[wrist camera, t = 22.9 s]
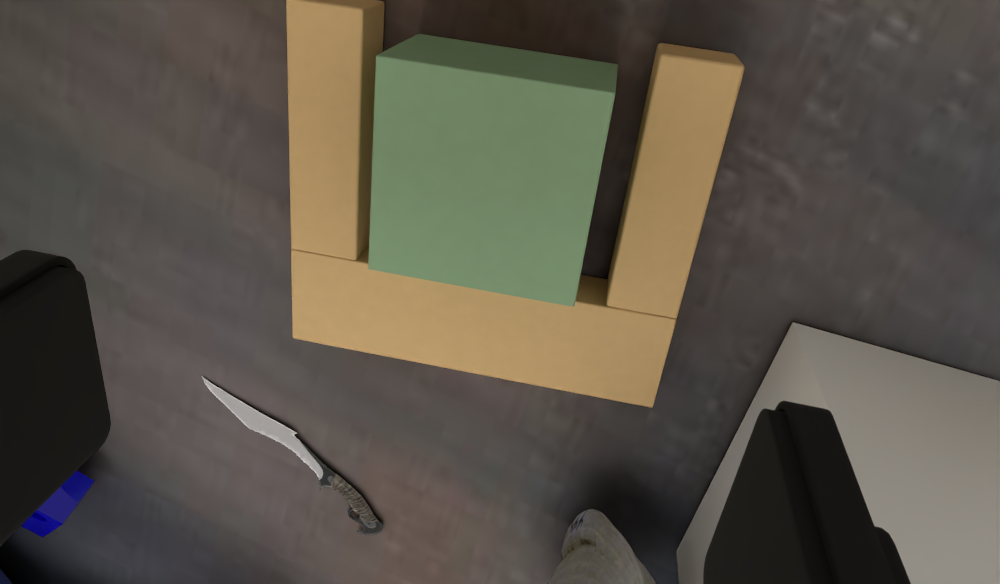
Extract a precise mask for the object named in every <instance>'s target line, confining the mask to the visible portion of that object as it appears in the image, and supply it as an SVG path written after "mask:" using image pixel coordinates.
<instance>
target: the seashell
mask: <svg viewBox="0 0 1000 584" xmlns="http://www.w3.org/2000/svg"><path fill="white" fill-rule="evenodd" d="M561 557H562V562H561V563H560V564H559V565H558V567H557V568H556V570H555V572H554V574H553V576H552V578H551V580H550V581H549V582H548V583H547V584H656V582H655V581H654V579H653V577H652V576H651V575H650V573H649V572H648V570H647V569H646V568H645V566H644V565H643V564H642V563H641V562H640V561H639V560H638V558H637V557H636V556H635V554H634V552H633V550H632V548H631V547H630V545H629V544H628V542H627V541H626V540H625V538H624V537H623V536H622V534H621V533H620V532H619V531H618V530H617V529H616V528H615V527H614V526H613V524H612V523H611V522H610V521H609V520H608V518H607V517H606V516H605V515H604V514H603V513H601V512H599V511H597V510H595V509H588V510H586V511H583V512H582V513H580V514H579V515H578V516H577V517H576V518H575V520H574V521H573V523H572V524H571V525H570V526H569V528H568V530H567V533H566V536H565V539H564V543H563V547H562V551H561Z"/></svg>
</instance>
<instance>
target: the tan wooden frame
mask: <svg viewBox="0 0 1000 584" xmlns="http://www.w3.org/2000/svg"><path fill="white" fill-rule="evenodd" d="M384 7H385V4H384V2H383V1H377V0H286V9H287V59H288V109H289V159H290V209H291V248H292V249H291V270H292V320H293V338H295V339H300V340H305V341H310V342H316V343H321V344H326V345H331V346H336V347H341V348H346V349H352V350H357V351H362V352H367V353H372V354H377V355H383V356H388V357H393V358H398V359H403V360H408V361H414V362H419V363H424V364H429V365H434V366H439V367H444V368H450V369H455V370H460V371H465V372H470V373H475V374H481V375H486V376H491V377H496V378H501V379H506V380H512V381H517V382H522V383H527V384H532V385H537V386H542V387H548V388H553V389H558V390H563V391H568V392H573V393H579V394H584V395H589V396H594V397H599V398H604V399H610V400H615V401H620V402H625V403H630V404H635V405H640V406H646V407H651V408H652V407H653V405H654V401H655V397H656V394H657V390H658V386H659V383H660V379H661V375H662V372H663V368H664V364H665V361H666V357H667V353H668V349H669V346H670V342H671V338H672V335H673V331H674V327H675V324H676V317H677V316H678V312H679V308H680V305H681V301H682V297H683V294H684V290H685V286H686V283H687V279H688V275H689V272H690V268H691V264H692V261H693V257H694V253H695V249H696V246H697V242H698V238H699V235H700V231H701V227H702V224H703V220H704V216H705V213H706V209H707V205H708V202H709V198H710V194H711V191H712V187H713V183H714V180H715V176H716V172H717V169H718V165H719V161H720V158H721V154H722V150H723V147H724V143H725V139H726V136H727V132H728V128H729V125H730V121H731V117H732V114H733V110H734V106H735V103H736V99H737V95H738V92H739V88H740V84H741V80H742V77H743V73H744V69H745V68H744V65H743V64H742V63H741V61H740V60H739V59H738V58H737V56H736V55H735V54H733V53H726V52H719V51H712V50H706V49H699V48H692V47H686V46H679V45H672V44H665V43H659V44H658V46H657V50H656V54H655V59H654V64H653V68H652V73H651V78H650V83H649V87H648V92H647V97H646V101H645V106H644V111H643V115H642V120H641V125H640V129H639V134H638V139H637V144H636V148H635V153H634V158H633V162H632V167H631V172H630V176H629V181H628V186H627V190H626V195H625V200H624V205H623V209H622V214H621V219H620V223H619V228H618V233H617V237H616V242H615V247H614V251H613V256H612V261H611V265H610V270H609V275H608V279H602V278H597V277H591V276H585V275H580V280H579V285H578V290H577V296H576V301H575V306H574V307H571V306H566V305H560V304H555V303H549V302H544V301H538V300H533V299H528V298H522V297H517V296H511V295H506V294H500V293H495V292H489V291H484V290H479V289H473V288H468V287H462V286H457V285H451V284H446V283H440V282H435V281H430V280H424V279H419V278H413V277H408V276H402V275H397V274H392V273H386V272H381V271H375V270H370V269H369V268H368V263H369V235H370V208H371V180H372V153H373V125H374V98H375V70H376V56H377V55H378V54H380V53H382V52H383V31H384Z"/></svg>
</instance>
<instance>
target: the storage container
mask: <svg viewBox="0 0 1000 584" xmlns="http://www.w3.org/2000/svg"><path fill="white" fill-rule="evenodd" d="M781 401H788V402H793V403H799V404H804V405H809V406H814V407H819V408H824V409H827V410H829V411H830V412H831V413H832V415H833V417H834V420H835V422H836V425H837V428H838V430H839V433H840V436H841V438H842V441H843V444H844V446H845V449H846V452H847V454H848V457H849V460H850V462H851V465H852V468H853V470H854V473H855V476H856V478H857V481H858V484H859V486H860V489H861V492H862V494H863V497H864V500H865V502H866V505H867V508H868V510H869V513H870V516H871V518H872V521H873V524H874V526H876V527H880V528H883V529H884V530H885V531H886V532H888V533H889V534H890V536H891V538H892V540H893V541H894V543H895V545H896V548H897V550H898V553H899V555H900V558H901V560H902V563H903V565H904V568H905V570H906V573H907V575H908V578H909V580H910V583H911V584H1000V381H997V380H994V379H990V378H987V377H983V376H980V375H976V374H973V373H969V372H966V371H962V370H959V369H955V368H952V367H948V366H945V365H941V364H938V363H934V362H931V361H927V360H924V359H920V358H917V357H913V356H910V355H906V354H903V353H899V352H896V351H892V350H889V349H885V348H882V347H878V346H875V345H871V344H868V343H864V342H861V341H857V340H854V339H850V338H847V337H843V336H840V335H836V334H833V333H829V332H826V331H822V330H819V329H815V328H812V327H808V326H805V325H801V324H798V323H794V322H793V323H792V325H791V327H790V329H789V330H788V332H787V334H786V336H785V338H784V340H783V342H782V344H781V346H780V348H779V350H778V352H777V354H776V356H775V358H774V360H773V362H772V364H771V366H770V368H769V370H768V372H767V374H766V376H765V378H764V380H763V382H762V384H761V386H760V388H759V389H758V391H757V393H756V395H755V397H754V399H753V401H752V403H751V405H750V407H749V409H748V411H747V413H746V415H745V417H744V419H743V421H742V423H741V425H740V427H739V429H738V431H737V433H736V435H735V437H734V439H733V441H732V443H731V445H730V447H729V448H728V450H727V452H726V454H725V456H724V458H723V460H722V462H721V464H720V466H719V468H718V470H717V472H716V474H715V476H714V478H713V480H712V482H711V484H710V486H709V488H708V490H707V492H706V494H705V496H704V498H703V500H702V502H701V504H700V506H699V507H698V509H697V511H696V513H695V515H694V517H693V519H692V521H691V523H690V525H689V527H688V529H687V531H686V533H685V535H684V537H683V539H682V541H681V543H680V545H679V547H678V549H677V551H676V553H677V567H678V581H679V584H703V571H704V563H705V558H706V554H707V551H708V548H709V545H710V543H711V540H712V537H713V535H714V532H715V529H716V527H717V524H718V521H719V519H720V516H721V513H722V511H723V508H724V505H725V503H726V500H727V497H728V495H729V492H730V490H731V487H732V484H733V482H734V479H735V476H736V474H737V471H738V468H739V466H740V463H741V460H742V458H743V455H744V452H745V450H746V447H747V444H748V442H749V439H750V436H751V434H752V431H753V428H754V426H755V423H756V420H757V418H758V416H759V413H760V412H761V411H762V409H765V408H766V409H771V410H775V408H776V406H777V405H778V404H779V403H780V402H781Z"/></svg>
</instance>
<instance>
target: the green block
mask: <svg viewBox="0 0 1000 584" xmlns="http://www.w3.org/2000/svg"><path fill="white" fill-rule="evenodd" d="M617 73H618V64H614V63H607V62H601V61H594V60H588V59H581V58H575V57H568V56H561V55H555V54H548V53H542V52H535V51H529V50H522V49H516V48H509V47H503V46H496V45H490V44H483V43H477V42H470V41H464V40H457V39H450V38H444V37H437V36H431V35H424V34H417V35H415V36H413V37H411V38H409V39H407V40H405V41H403V42H401V43H399V44H397V45H395V46H394V47H392V48H390V49H388V50H386V51H384V52H382V53H380V54H378V55H377V56H376V70H375V98H374V125H373V153H372V180H371V208H370V235H369V263H368V268H369V269H370V270H375V271H381V272H386V273H392V274H397V275H402V276H408V277H413V278H419V279H424V280H430V281H435V282H440V283H446V284H451V285H457V286H462V287H468V288H473V289H479V290H484V291H489V292H495V293H500V294H506V295H511V296H517V297H522V298H528V299H533V300H538V301H544V302H549V303H555V304H560V305H566V306H571V307H574V306H575V301H576V296H577V290H578V285H579V280H580V275H581V270H582V265H583V259H584V254H585V249H586V244H587V239H588V233H589V228H590V223H591V218H592V213H593V208H594V202H595V197H596V192H597V187H598V182H599V177H600V171H601V166H602V161H603V156H604V151H605V146H606V140H607V135H608V130H609V125H610V120H611V115H612V109H613V104H614V99H615V94H616V83H617Z"/></svg>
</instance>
